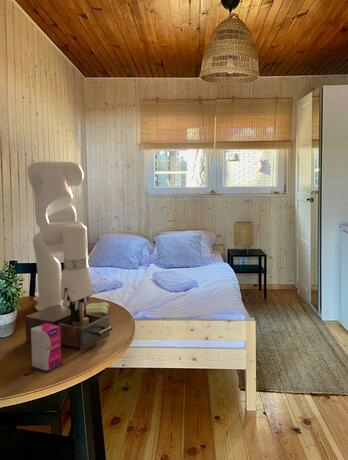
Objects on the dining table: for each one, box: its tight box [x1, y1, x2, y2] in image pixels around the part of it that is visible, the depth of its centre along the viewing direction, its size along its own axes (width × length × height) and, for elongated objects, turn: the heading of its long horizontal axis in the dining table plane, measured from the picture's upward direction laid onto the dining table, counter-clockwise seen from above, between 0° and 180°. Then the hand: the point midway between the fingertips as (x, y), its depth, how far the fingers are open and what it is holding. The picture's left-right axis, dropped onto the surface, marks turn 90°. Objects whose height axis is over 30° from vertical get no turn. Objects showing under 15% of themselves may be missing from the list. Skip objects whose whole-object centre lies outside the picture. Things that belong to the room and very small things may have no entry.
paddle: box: [73, 302, 89, 328], centre depth 134 cm, size 5×2×10 cm, turn 62°
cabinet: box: [24, 305, 71, 343], centre depth 140 cm, size 12×14×8 cm
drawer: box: [55, 314, 113, 351], centre depth 133 cm, size 15×13×7 cm
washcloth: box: [85, 301, 111, 317], centre depth 162 cm, size 13×18×3 cm
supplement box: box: [30, 323, 62, 373], centre depth 117 cm, size 6×6×12 cm
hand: (78, 319), depth 135 cm, fingers closed on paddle, 2 cm apart
